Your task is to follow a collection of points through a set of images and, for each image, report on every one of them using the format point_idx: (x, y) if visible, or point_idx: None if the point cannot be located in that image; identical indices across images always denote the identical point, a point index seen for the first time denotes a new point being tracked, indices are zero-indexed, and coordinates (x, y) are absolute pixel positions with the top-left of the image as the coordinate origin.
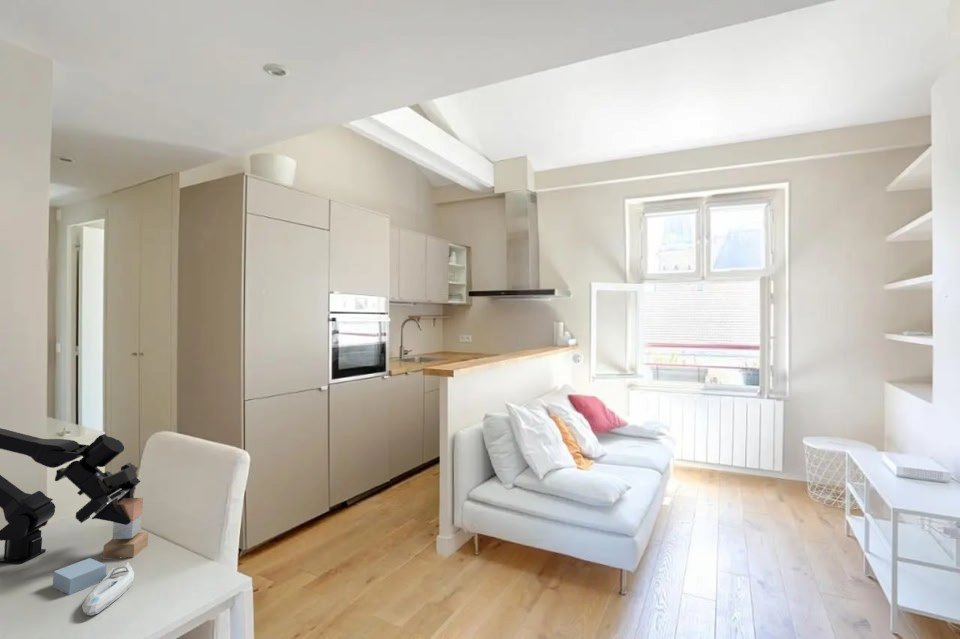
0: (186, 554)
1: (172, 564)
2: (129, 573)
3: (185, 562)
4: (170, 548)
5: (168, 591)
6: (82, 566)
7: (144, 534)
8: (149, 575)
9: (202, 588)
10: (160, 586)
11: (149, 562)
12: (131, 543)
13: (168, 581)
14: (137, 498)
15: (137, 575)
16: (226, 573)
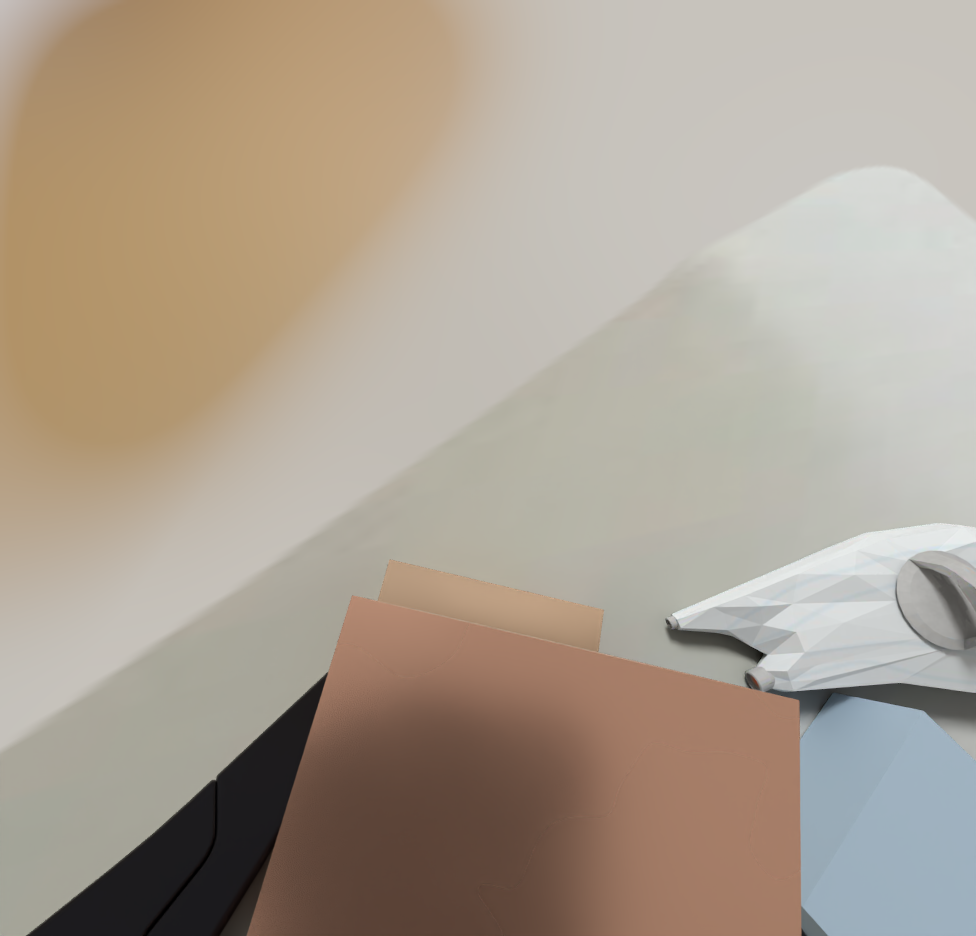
0: (607, 345)
1: (707, 392)
2: (936, 544)
3: (697, 341)
4: (503, 429)
5: (951, 374)
6: (945, 902)
7: (430, 577)
8: (806, 474)
9: (931, 265)
10: (911, 409)
11: (660, 504)
12: (587, 635)
13: (870, 385)
14: (369, 735)
15: (800, 532)
16: (823, 198)
